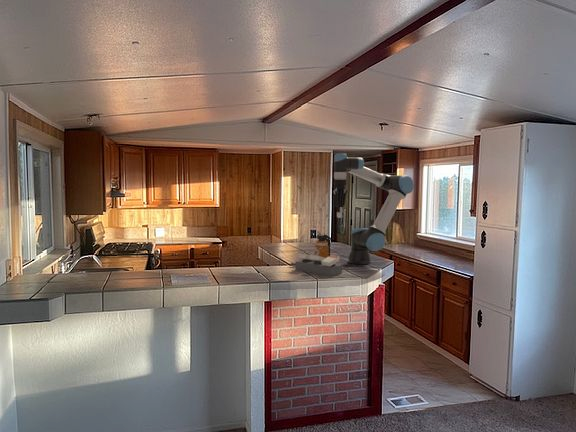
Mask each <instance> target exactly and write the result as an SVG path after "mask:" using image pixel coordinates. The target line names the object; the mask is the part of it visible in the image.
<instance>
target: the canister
mask: <svg viewBox="0 0 576 432" xmlns="http://www.w3.org/2000/svg"><path fill="white" fill-rule="evenodd" d="M315 238H316V239H317V240H315V244H314V255H316V256H320V257H325V258H327V257H329V256H330V255H331V241H332V237H330V236H329V235H327V234H321V235H319V234H317V235H316V236H315ZM315 261H316V260H315Z"/></svg>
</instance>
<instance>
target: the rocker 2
mask: <svg viewBox="0 0 576 432" xmlns="http://www.w3.org/2000/svg"><path fill="white" fill-rule="evenodd" d="M309 255H310V258H309V260H310V259H312V260H316V261H320V262H321V261H323V260H324V259H326V258H325V257H320V256H316V255H315V254H309Z"/></svg>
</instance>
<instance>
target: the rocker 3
mask: <svg viewBox="0 0 576 432" xmlns="http://www.w3.org/2000/svg"><path fill="white" fill-rule="evenodd" d="M340 260H341V259H340V255H335V254H330V256H329V257H327V258H326V259H324V260H323V261H321V262H322V265H324V266H332V265H333V264H337V263H338V262H339V261H340Z"/></svg>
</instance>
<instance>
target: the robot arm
mask: <svg viewBox="0 0 576 432" xmlns="http://www.w3.org/2000/svg"><path fill="white" fill-rule="evenodd" d="M333 157H334V158H333V186H335V187H334V190H332V191H331V192H332V195H333V201H334V202H333V203H334V207H335V208H336V218H339V219H341V218H343V208H344V207H345V205H346V197H347V193H348V190H346V187H345V186H347V180H346V179H347V173H349V174H352V175H354V176H356V177H358V178H361V179H362V180H365V181H368V182H370V183H372V184H374V185H375V186H376V187H377V188H380V189H382V190H385V191H386V192H388V195H387V197H386V200H385V201H384V204H383V205H382V207H381V208H380V211H379V213H378V214H377V217H376V218H375V221H374V222H373V224H372V225H370V226H369V227H365V228H364V227H363V228H353V229H351V233H350V237H351V238H350V240H351V241H350V253H349V255H348V259H347V260H348V261H347V263H349V264H353V265H369V264H371V263H372V257H371V255H370V252H369V250H370V251H373V252H374V251H375V252H378V251H381V250H382V249H383V248H384V247H385V245H386V230H387V228H388V226H389V224H390V222H391V220H392V219H393V217H394V215H395V212H396V211H397V209H398V207H399V204H400V203H401V201H402V200H404V199H405V198H406V196H407V195H409V194H411V193H412V192H413V191H414V188H415V187H414V186H415V184H414V180H413V179H412V177H410V176H409V175H405V174H403V175H392V174H386V173H382V172H381V173H380V172H378V171H375V170H373V169H371V168H368V167H366V166H365V159H363V157H359V156H357V157H355V156H349V157H348V155H347V153H335V154H334V156H333Z"/></svg>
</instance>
